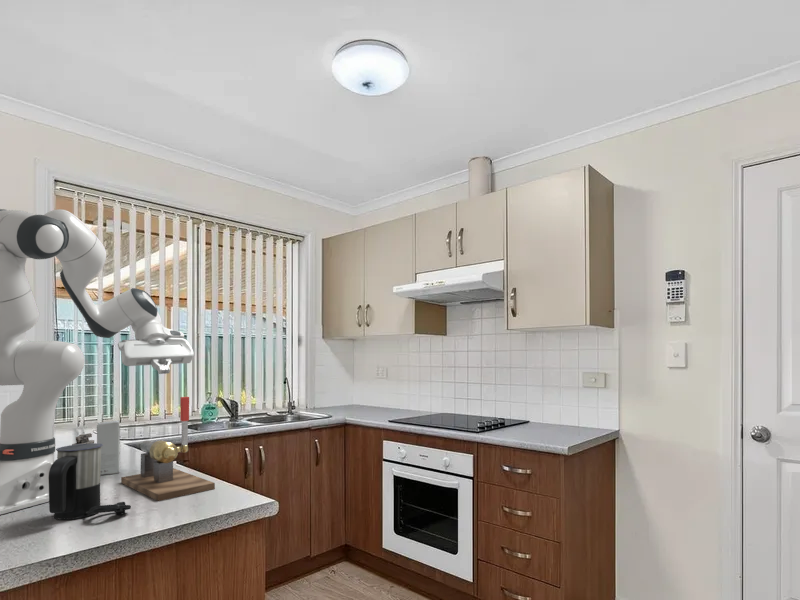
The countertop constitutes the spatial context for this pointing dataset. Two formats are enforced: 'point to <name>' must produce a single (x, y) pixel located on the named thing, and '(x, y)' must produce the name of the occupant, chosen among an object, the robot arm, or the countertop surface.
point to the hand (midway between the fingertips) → (164, 372)
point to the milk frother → (78, 483)
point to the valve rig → (164, 474)
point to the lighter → (84, 439)
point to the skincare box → (109, 446)
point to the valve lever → (184, 422)
